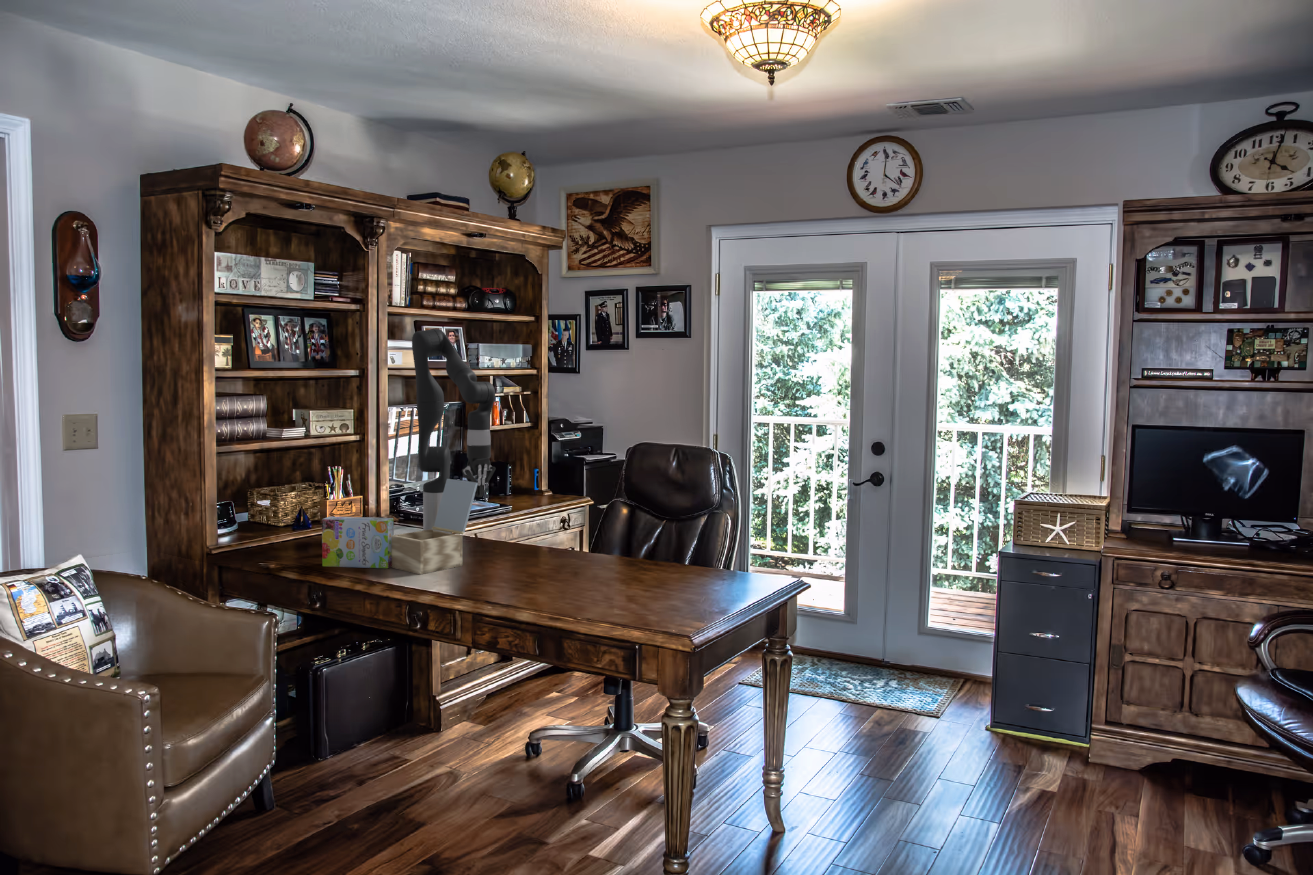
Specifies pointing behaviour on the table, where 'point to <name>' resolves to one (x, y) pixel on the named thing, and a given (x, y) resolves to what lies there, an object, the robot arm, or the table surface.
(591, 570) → the table surface
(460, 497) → the lid
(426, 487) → the robot arm
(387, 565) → the snack box
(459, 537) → the wooden box
